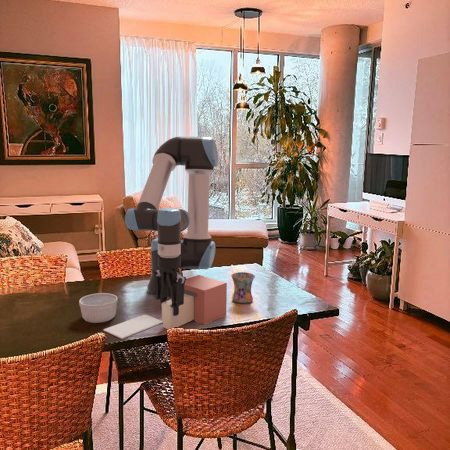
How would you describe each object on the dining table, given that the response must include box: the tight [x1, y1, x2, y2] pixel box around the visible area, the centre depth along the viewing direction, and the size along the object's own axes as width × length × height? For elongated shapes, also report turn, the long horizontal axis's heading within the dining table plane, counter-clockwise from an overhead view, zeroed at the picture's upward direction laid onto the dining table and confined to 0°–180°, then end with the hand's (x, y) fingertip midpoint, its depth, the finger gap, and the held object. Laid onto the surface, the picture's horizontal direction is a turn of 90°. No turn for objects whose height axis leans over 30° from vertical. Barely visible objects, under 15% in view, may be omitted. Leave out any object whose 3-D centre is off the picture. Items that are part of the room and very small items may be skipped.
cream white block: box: [162, 294, 195, 330], centre depth 156 cm, size 4×14×9 cm, turn 140°
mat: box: [103, 314, 163, 340], centre depth 154 cm, size 10×18×1 cm, turn 140°
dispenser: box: [184, 274, 228, 326], centre depth 164 cm, size 14×13×12 cm
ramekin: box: [78, 292, 119, 324], centre depth 161 cm, size 13×13×7 cm
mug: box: [230, 271, 256, 304], centre depth 181 cm, size 12×9×11 cm
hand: (169, 322), depth 153 cm, fingers closed on cream white block, 3 cm apart
